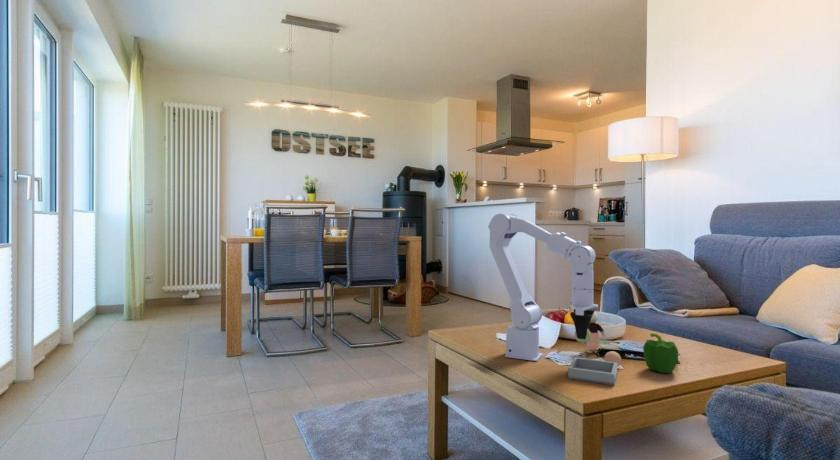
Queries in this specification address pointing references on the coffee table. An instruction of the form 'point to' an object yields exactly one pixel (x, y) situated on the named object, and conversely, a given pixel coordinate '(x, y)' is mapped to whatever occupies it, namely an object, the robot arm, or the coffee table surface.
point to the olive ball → (584, 339)
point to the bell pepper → (660, 354)
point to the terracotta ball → (613, 357)
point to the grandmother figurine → (594, 334)
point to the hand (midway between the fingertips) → (582, 336)
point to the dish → (593, 371)
